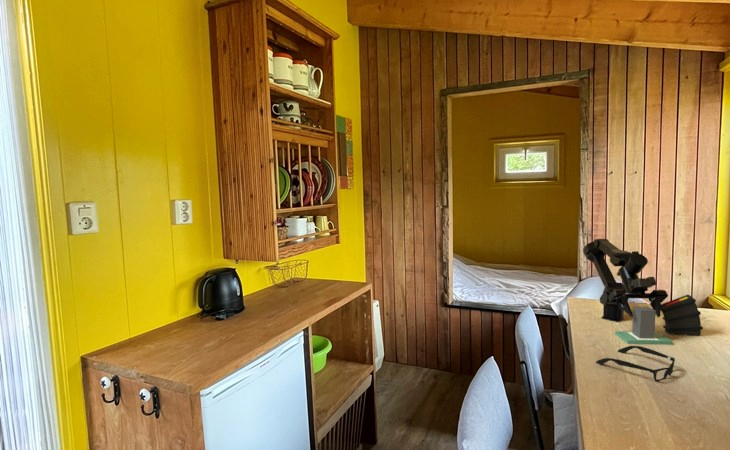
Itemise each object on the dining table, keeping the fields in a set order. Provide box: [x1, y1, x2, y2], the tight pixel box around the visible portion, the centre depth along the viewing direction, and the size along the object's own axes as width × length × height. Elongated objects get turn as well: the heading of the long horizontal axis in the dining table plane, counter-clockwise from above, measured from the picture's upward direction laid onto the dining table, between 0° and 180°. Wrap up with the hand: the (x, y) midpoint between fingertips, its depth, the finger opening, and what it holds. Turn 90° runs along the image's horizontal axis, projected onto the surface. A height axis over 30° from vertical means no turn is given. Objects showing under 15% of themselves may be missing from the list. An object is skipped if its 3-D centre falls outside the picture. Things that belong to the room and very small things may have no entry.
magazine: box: [660, 294, 704, 337], centre depth 151 cm, size 4×13×15 cm, turn 78°
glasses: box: [595, 345, 676, 382], centre depth 127 cm, size 17×18×5 cm
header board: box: [614, 330, 674, 346], centre depth 148 cm, size 9×15×5 cm, turn 83°
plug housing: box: [631, 305, 657, 339], centre depth 147 cm, size 5×5×10 cm
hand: (645, 316), depth 146 cm, fingers open, 9 cm apart
